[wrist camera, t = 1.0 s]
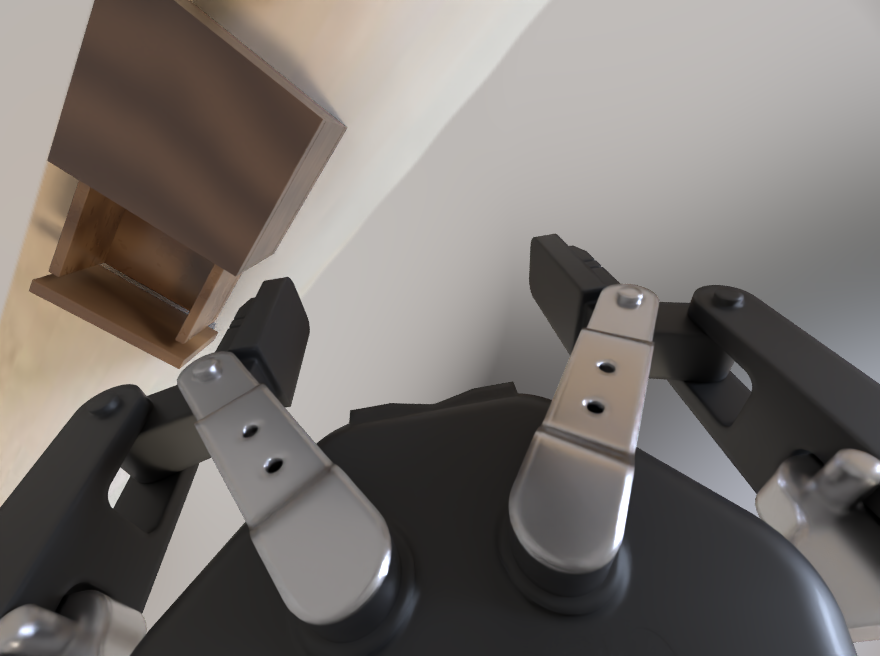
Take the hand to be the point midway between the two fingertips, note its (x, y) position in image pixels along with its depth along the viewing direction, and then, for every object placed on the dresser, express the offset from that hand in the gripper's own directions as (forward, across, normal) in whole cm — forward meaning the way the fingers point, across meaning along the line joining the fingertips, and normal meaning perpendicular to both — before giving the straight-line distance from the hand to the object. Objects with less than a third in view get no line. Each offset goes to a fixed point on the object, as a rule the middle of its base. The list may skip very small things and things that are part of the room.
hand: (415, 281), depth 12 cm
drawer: (+24, +23, +7) cm, 33 cm away
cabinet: (+26, +13, -2) cm, 29 cm away
